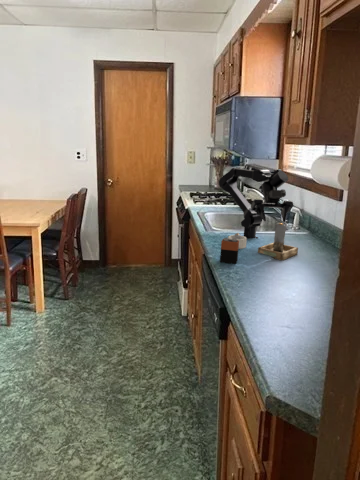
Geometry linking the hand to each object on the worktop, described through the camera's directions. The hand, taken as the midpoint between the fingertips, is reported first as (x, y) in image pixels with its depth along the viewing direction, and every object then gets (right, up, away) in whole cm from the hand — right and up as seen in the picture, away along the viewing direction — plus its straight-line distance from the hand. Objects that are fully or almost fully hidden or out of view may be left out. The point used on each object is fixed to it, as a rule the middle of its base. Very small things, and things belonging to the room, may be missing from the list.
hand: (274, 221), depth 184 cm
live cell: (+1, -14, -3) cm, 14 cm away
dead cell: (-17, -11, +5) cm, 21 cm away
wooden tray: (+1, -15, -3) cm, 15 cm away
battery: (-23, -18, -16) cm, 33 cm away
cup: (-17, -12, +5) cm, 21 cm away
